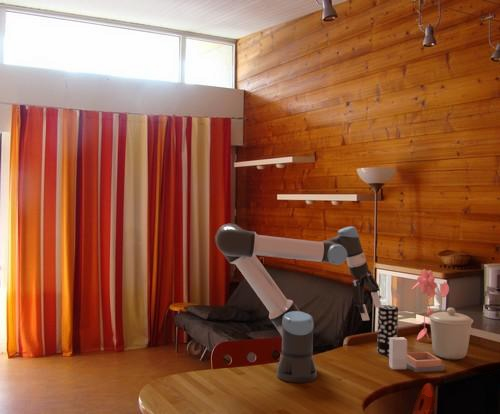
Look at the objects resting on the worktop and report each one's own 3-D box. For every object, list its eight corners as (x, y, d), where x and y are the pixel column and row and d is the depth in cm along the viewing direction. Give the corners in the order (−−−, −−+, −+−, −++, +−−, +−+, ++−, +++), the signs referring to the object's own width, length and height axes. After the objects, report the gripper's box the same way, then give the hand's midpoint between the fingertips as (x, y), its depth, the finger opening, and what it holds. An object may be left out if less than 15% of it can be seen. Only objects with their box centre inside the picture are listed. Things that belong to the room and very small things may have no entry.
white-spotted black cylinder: (398, 355, 244) (400, 309, 243) (379, 355, 244) (380, 309, 243) (394, 350, 252) (395, 305, 252) (375, 349, 253) (376, 305, 252)
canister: (442, 347, 258) (443, 301, 257) (480, 357, 244) (481, 309, 243) (419, 354, 246) (420, 306, 246) (457, 365, 233) (459, 314, 232)
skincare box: (402, 366, 230) (403, 336, 230) (407, 369, 226) (408, 339, 225) (388, 366, 230) (389, 336, 229) (391, 370, 225) (392, 339, 225)
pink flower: (419, 335, 277) (420, 264, 275) (456, 350, 253) (458, 272, 252) (393, 339, 272) (394, 266, 270) (429, 354, 248) (430, 275, 246)
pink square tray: (414, 372, 223) (414, 362, 223) (399, 361, 236) (399, 352, 236) (444, 370, 226) (444, 360, 226) (427, 360, 239) (428, 350, 239)
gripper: (353, 273, 218) (369, 325, 219) (377, 253, 238) (391, 301, 239) (336, 275, 222) (352, 326, 224) (361, 256, 242) (375, 302, 244)
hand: (372, 313), depth 231 cm, fingers open, 13 cm apart
